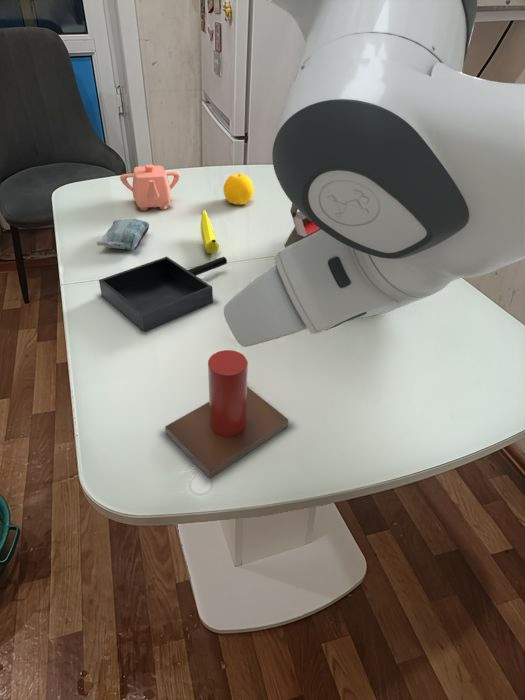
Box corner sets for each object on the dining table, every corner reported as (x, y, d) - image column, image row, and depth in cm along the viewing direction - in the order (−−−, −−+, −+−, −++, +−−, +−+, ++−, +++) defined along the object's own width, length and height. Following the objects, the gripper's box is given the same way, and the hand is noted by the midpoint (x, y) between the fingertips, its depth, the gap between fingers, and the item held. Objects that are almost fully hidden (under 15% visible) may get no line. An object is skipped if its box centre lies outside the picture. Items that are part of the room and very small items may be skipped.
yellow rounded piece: (219, 205, 134) (218, 177, 130) (229, 194, 140) (229, 167, 136) (248, 209, 133) (248, 181, 128) (257, 199, 139) (258, 171, 134)
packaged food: (98, 254, 111) (94, 233, 108) (115, 230, 120) (112, 210, 117) (137, 257, 110) (135, 236, 107) (151, 233, 120) (150, 214, 117)
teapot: (116, 203, 133) (111, 164, 126) (150, 191, 140) (147, 153, 134) (155, 219, 126) (151, 178, 120) (188, 205, 134) (186, 166, 127)
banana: (210, 228, 123) (210, 203, 119) (221, 267, 108) (221, 239, 105) (198, 229, 122) (197, 204, 119) (207, 268, 108) (207, 240, 104)
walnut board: (209, 478, 65) (209, 471, 64) (165, 433, 71) (165, 426, 70) (287, 426, 73) (288, 419, 72) (242, 390, 79) (242, 382, 78)
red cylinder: (225, 442, 68) (224, 380, 61) (202, 421, 71) (200, 360, 64) (253, 424, 71) (255, 363, 64) (230, 405, 74) (230, 344, 67)
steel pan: (144, 332, 89) (141, 315, 87) (101, 295, 98) (98, 279, 96) (248, 287, 103) (248, 271, 100) (202, 258, 111) (202, 243, 109)
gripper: (436, 188, 45) (338, 248, 57) (265, 254, 34) (186, 312, 45) (467, 252, 45) (362, 299, 57) (307, 340, 34) (218, 375, 46)
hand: (283, 305), depth 51 cm, fingers open, 8 cm apart
